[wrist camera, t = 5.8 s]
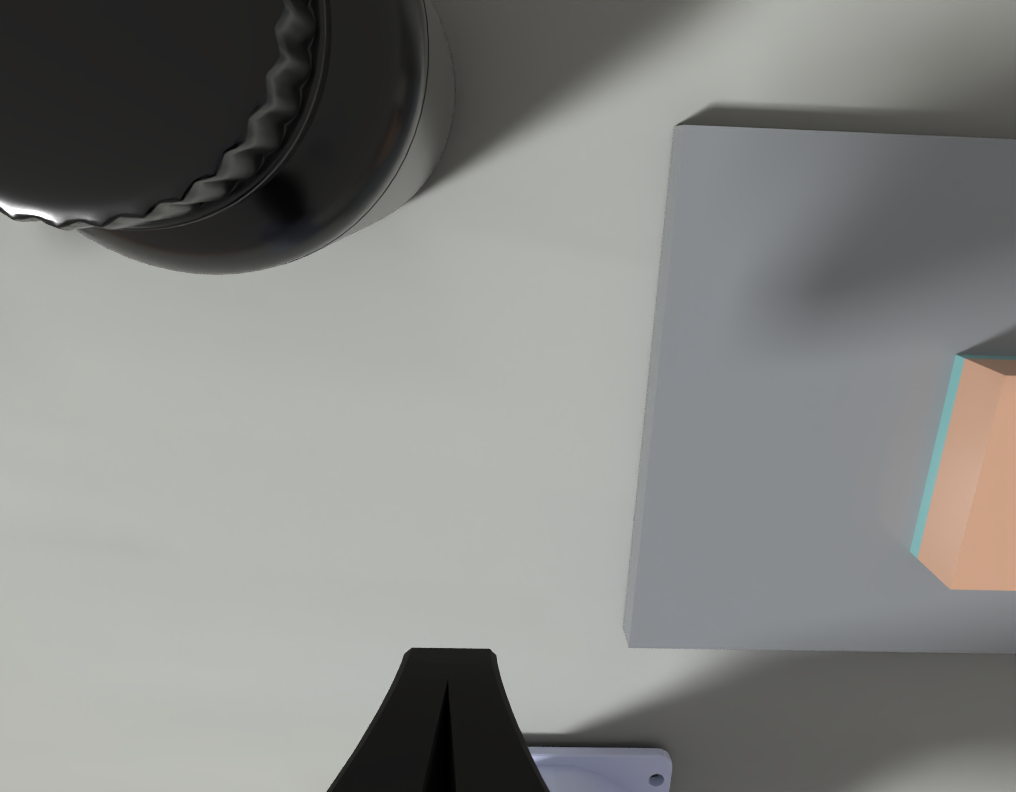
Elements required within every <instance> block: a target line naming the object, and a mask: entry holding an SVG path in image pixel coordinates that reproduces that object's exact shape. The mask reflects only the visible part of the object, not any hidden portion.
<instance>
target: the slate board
mask: <svg viewBox="0 0 1016 792" xmlns="http://www.w3.org/2000/svg"><path fill="white" fill-rule="evenodd" d="M956 355H988V356H1016V139H1001V138H978V137H955V136H932V135H909V134H885V133H862V132H839V131H816V130H793V129H770V128H747V127H724V126H701V125H679V126H674V133H673V143H672V153H671V163H670V172H669V182H668V192H667V202H666V212H665V221H664V231H663V241H662V251H661V261H660V270H659V280H658V290H657V300H656V310H655V319H654V329H653V339H652V349H651V359H650V368H649V378H648V388H647V398H646V408H645V417H644V427H643V437H642V447H641V457H640V466H639V476H638V486H637V496H636V506H635V515H634V525H633V535H632V545H631V555H630V564H629V574H628V584H627V594H626V604H625V613H624V623H623V630H624V633H625V636H626V640H627V643H628V647H629V648H673V649H736V650H798V651H860V652H922V653H985V654H1016V591H1003V590H951V589H949V588H948V587H947V586H946V585H945V584H944V583H943V582H942V581H941V580H940V579H938V578H937V577H936V576H935V575H934V574H933V573H932V572H931V571H930V570H929V569H928V568H927V567H926V566H925V565H924V564H922V563H921V562H920V561H919V560H918V559H917V558H916V557H915V556H914V555H913V554H912V553H911V552H910V549H911V544H912V540H913V536H914V531H915V527H916V523H917V519H918V514H919V510H920V506H921V501H922V497H923V493H924V489H925V484H926V480H927V476H928V471H929V467H930V463H931V459H932V454H933V450H934V446H935V441H936V437H937V433H938V428H939V424H940V420H941V416H942V411H943V407H944V403H945V398H946V394H947V390H948V386H949V381H950V377H951V373H952V368H953V364H954V360H955V356H956Z"/></svg>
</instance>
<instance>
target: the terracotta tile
mask: <svg viewBox="0 0 1016 792" xmlns="http://www.w3.org/2000/svg"><path fill="white" fill-rule="evenodd" d="M910 552H911V553H912V554H913V555H914V556H915V557H916V558H917V559H918V560H919V561H920V562H921V563H922V564H924V565H925V566H926V567H927V568H928V569H929V570H930V571H931V572H932V573H933V574H934V575H935V576H936V577H937V578H938V579H940V580H941V581H942V582H943V583H944V584H945V585H946V586H947V587H948V588H949V589H951V590H1003V591H1016V356H988V355H956V356H955V360H954V364H953V368H952V373H951V377H950V381H949V386H948V390H947V394H946V398H945V403H944V407H943V411H942V416H941V420H940V424H939V428H938V433H937V437H936V441H935V446H934V450H933V454H932V459H931V463H930V467H929V471H928V476H927V480H926V484H925V489H924V493H923V497H922V501H921V506H920V510H919V514H918V519H917V523H916V527H915V531H914V536H913V540H912V544H911V549H910Z"/></svg>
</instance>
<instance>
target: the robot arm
mask: <svg viewBox="0 0 1016 792" xmlns="http://www.w3.org/2000/svg"><path fill="white" fill-rule="evenodd" d="M672 768H673V767H672V761H671V758H670V755H669V754H668V752H667V751H665V750H663V749H659V748H590V747H528V746H527V744H526V742H525V740H524V738H523V735H522V733H521V731H520V729H519V727H518V724H517V722H516V719H515V717H514V714H513V712H512V709H511V706H510V704H509V701H508V698H507V695H506V693H505V689H504V686H503V683H502V680H501V676H500V672H499V668H498V664H497V657H496V655H495V654H494V653H493V652H492V651H491V650H490V649H466V648H411V649H410V650H408V651H407V652H406V653H405V654H404V656H403V659H402V662H401V665H400V667H399V669H398V672H397V674H396V676H395V679H394V681H393V683H392V685H391V687H390V689H389V691H388V693H387V695H386V697H385V699H384V700H383V702H382V704H381V706H380V708H379V710H378V712H377V713H376V715H375V717H374V718H373V720H372V722H371V724H370V725H369V727H368V729H367V730H366V732H365V734H364V735H363V737H362V739H361V740H360V742H359V744H358V746H357V747H356V749H355V750H354V752H353V753H352V755H351V757H350V758H349V759H348V761H347V762H346V764H345V765H344V767H343V768H342V770H341V771H340V773H339V774H338V776H337V777H336V779H335V780H334V782H333V783H332V784H331V786H330V787H329V789H328V790H327V792H669V790H670V782H671V775H672ZM654 774H660V775H658V776H656V777H651V776H652V775H654Z"/></svg>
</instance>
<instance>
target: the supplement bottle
mask: <svg viewBox="0 0 1016 792" xmlns="http://www.w3.org/2000/svg"><path fill="white" fill-rule="evenodd" d="M454 105H455V79H454V69H453V63H452V57H451V53H450V49H449V45H448V42H447V38H446V35H445V32H444V30H443V27H442V24H441V21H440V19H439V16H438V14H437V11H436V9H435V7H434V4H433V2H432V0H0V212H2V213H3V214H5V215H6V216H8V217H10V218H11V219H13V220H16V221H20V222H29V221H43V222H45V223H46V224H48V225H51V226H53V227H56V228H58V229H62V230H77V231H78V232H80V233H81V234H83V235H84V236H86V237H87V238H89V239H91V240H93V241H95V242H96V243H98V244H100V245H102V246H104V247H106V248H107V249H110V250H112V251H114V252H117V253H119V254H121V255H123V256H126V257H128V258H131V259H134V260H137V261H140V262H143V263H145V264H148V265H152V266H156V267H160V268H165V269H169V270H173V271H179V272H186V273H193V274H210V275H223V274H239V273H246V272H252V271H259V270H263V269H267V268H271V267H275V266H279V265H283V264H287V263H289V262H292V261H295V260H297V259H300V258H303V257H305V256H307V255H310V254H312V253H314V252H316V251H318V250H320V249H322V248H324V247H326V246H328V245H330V244H332V243H334V242H336V241H338V240H340V239H342V238H344V237H347V236H349V235H351V234H353V233H355V232H357V231H359V230H361V229H363V228H365V227H367V226H369V225H371V224H373V223H375V222H377V221H379V220H381V219H383V218H384V217H386V216H387V215H389V214H391V213H392V212H394V211H395V210H397V209H398V208H400V207H401V206H402V205H403V204H405V203H406V202H407V201H408V200H409V199H410V198H411V197H412V196H413V195H414V194H415V193H417V192H418V190H419V189H420V188H421V187H422V186H423V184H424V183H425V182H426V181H427V179H428V178H429V176H430V175H431V173H432V172H433V170H434V169H435V167H436V165H437V163H438V161H439V159H440V158H441V155H442V153H443V150H444V148H445V146H446V143H447V140H448V136H449V133H450V129H451V125H452V120H453V114H454Z"/></svg>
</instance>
